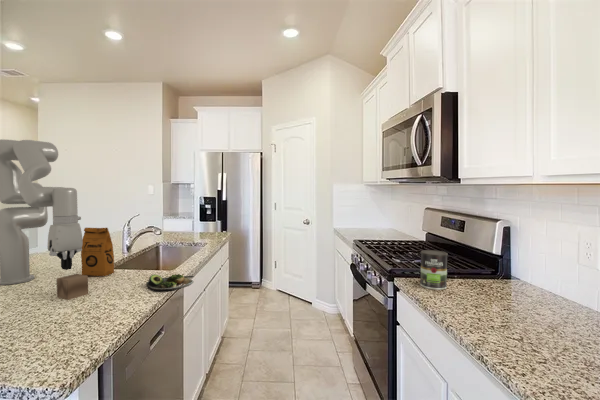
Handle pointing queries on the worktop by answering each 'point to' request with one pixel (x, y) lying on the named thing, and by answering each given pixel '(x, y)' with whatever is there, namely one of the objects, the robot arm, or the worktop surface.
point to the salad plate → (168, 282)
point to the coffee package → (97, 252)
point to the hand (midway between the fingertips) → (66, 269)
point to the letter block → (72, 286)
